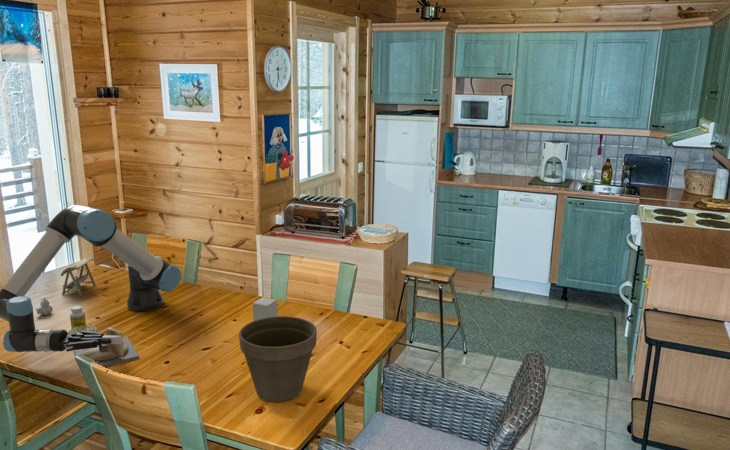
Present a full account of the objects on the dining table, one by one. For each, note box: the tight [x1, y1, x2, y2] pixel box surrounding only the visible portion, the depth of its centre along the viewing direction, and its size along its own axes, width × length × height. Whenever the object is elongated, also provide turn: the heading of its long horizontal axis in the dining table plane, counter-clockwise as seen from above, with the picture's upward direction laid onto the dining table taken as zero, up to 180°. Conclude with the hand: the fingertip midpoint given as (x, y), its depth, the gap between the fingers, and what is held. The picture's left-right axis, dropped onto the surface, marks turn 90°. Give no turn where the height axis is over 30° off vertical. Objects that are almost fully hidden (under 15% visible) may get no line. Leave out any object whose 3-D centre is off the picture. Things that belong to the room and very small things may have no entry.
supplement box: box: [252, 297, 278, 321], centre depth 231 cm, size 7×7×13 cm
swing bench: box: [60, 257, 97, 297], centre depth 270 cm, size 15×10×15 cm, turn 178°
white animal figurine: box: [35, 297, 53, 316], centre depth 242 cm, size 5×7×8 cm
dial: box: [83, 327, 128, 361], centre depth 207 cm, size 17×15×10 cm
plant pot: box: [238, 315, 318, 403], centre depth 184 cm, size 25×25×22 cm
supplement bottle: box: [69, 305, 87, 329], centre depth 228 cm, size 5×5×10 cm
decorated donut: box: [67, 324, 98, 334], centre depth 222 cm, size 10×11×4 cm
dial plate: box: [73, 336, 140, 368], centre depth 209 cm, size 19×19×1 cm
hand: (121, 339), depth 201 cm, fingers closed
